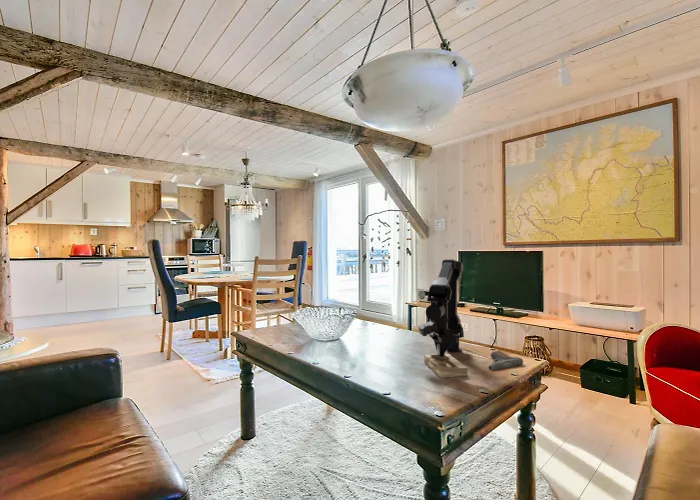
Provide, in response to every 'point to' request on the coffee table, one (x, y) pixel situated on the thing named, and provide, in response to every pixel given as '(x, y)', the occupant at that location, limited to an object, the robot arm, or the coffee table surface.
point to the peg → (440, 356)
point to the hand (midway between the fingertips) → (440, 355)
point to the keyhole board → (446, 366)
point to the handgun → (503, 361)
